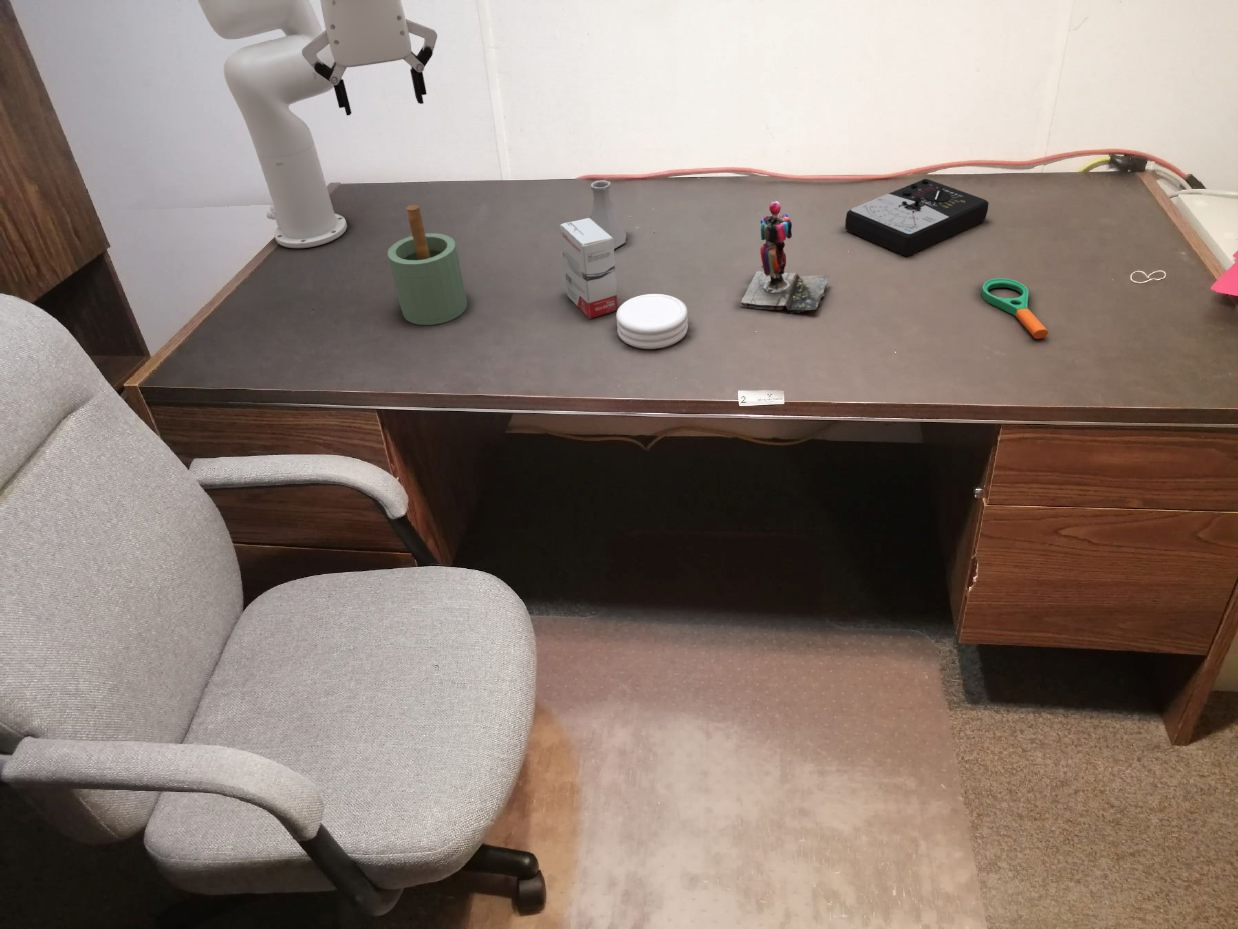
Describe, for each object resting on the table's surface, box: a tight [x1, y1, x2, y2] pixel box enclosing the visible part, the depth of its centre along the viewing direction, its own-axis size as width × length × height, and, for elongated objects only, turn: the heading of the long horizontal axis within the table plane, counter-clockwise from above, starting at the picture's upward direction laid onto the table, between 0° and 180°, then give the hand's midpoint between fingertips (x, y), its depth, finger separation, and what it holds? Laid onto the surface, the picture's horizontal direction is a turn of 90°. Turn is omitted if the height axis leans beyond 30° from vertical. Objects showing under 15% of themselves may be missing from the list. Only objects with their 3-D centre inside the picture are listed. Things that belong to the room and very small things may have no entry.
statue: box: [740, 200, 830, 314], centre depth 127 cm, size 11×9×15 cm
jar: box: [387, 232, 468, 326], centre depth 133 cm, size 10×10×10 cm
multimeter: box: [844, 178, 990, 257], centre depth 145 cm, size 13×19×5 cm
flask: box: [590, 179, 627, 250], centre depth 146 cm, size 7×7×10 cm
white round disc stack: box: [615, 293, 689, 350], centre depth 125 cm, size 10×10×4 cm
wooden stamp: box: [405, 204, 430, 260], centre depth 130 cm, size 5×5×16 cm
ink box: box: [559, 217, 619, 319], centre depth 130 cm, size 8×5×12 cm, turn 26°
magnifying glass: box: [981, 277, 1049, 339], centre depth 123 cm, size 15×6×2 cm, turn 3°
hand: (384, 106), depth 121 cm, fingers open, 9 cm apart
